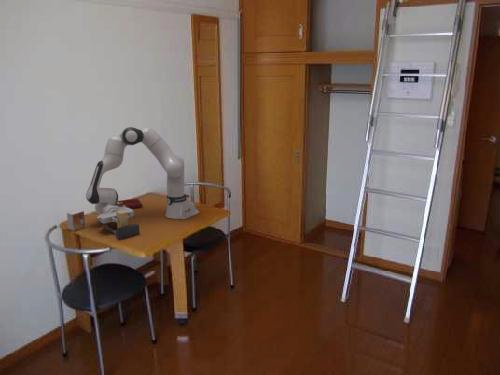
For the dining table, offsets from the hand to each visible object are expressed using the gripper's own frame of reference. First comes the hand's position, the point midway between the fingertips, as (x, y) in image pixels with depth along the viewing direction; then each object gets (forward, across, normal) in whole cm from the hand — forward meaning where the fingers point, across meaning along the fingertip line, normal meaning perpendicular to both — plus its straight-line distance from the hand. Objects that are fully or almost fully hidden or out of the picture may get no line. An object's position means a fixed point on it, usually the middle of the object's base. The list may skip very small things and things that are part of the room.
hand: (123, 219), depth 245 cm
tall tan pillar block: (-1, 0, +6) cm, 6 cm away
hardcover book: (-41, +23, +10) cm, 48 cm away
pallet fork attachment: (-6, 0, +9) cm, 11 cm away
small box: (-26, -17, +9) cm, 32 cm away
